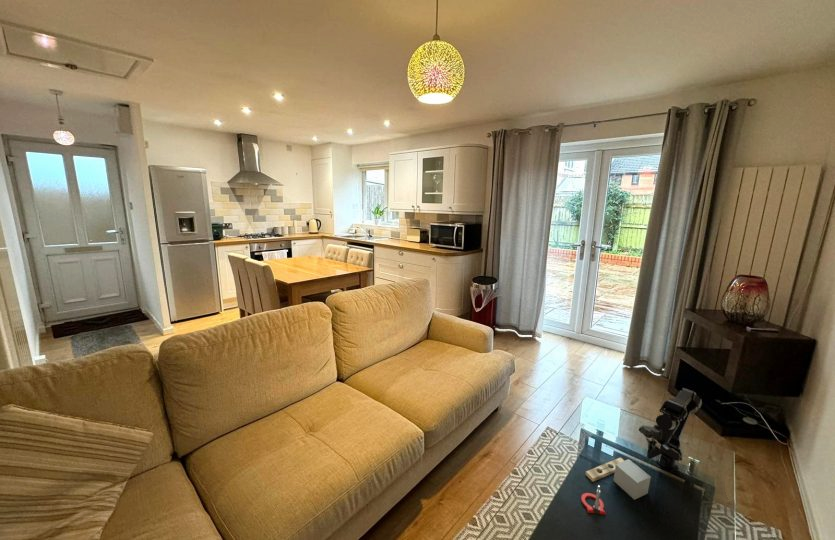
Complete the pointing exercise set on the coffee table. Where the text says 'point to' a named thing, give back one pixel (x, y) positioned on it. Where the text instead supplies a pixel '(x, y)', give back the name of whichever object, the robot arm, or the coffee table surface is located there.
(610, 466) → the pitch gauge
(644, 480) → the block
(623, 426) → the coffee table surface
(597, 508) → the red shackle
